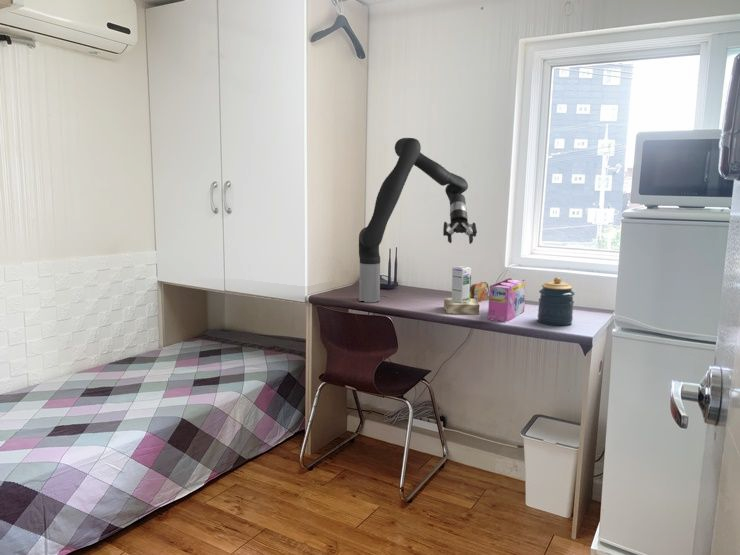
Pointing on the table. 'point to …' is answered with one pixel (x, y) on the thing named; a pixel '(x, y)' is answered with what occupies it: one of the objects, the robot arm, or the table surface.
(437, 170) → the robot arm
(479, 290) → the tin
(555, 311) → the canister
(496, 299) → the gum box
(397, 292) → the table surface
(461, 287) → the syrup box
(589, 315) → the table surface
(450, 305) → the birch plinth
